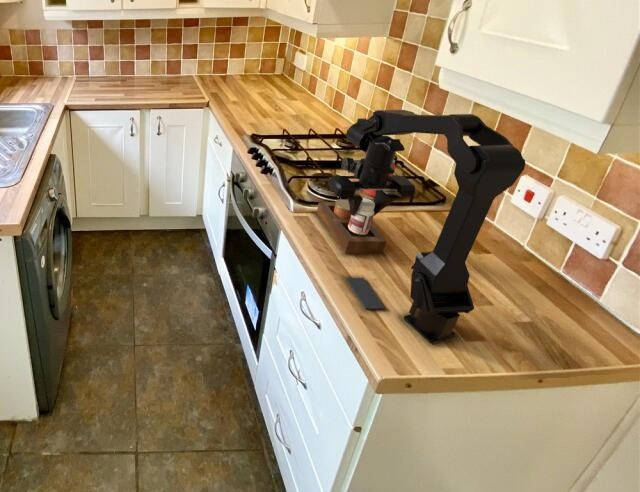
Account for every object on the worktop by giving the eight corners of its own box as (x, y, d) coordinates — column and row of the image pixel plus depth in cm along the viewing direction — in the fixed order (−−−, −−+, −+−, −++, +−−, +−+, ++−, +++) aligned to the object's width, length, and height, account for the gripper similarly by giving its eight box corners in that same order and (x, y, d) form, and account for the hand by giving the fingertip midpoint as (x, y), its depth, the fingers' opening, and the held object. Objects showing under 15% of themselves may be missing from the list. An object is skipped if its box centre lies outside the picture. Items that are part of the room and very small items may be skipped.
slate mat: (384, 309, 87) (384, 308, 87) (365, 309, 87) (365, 308, 87) (363, 278, 95) (363, 277, 95) (345, 278, 95) (346, 277, 95)
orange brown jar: (354, 227, 113) (360, 208, 110) (339, 230, 112) (344, 211, 109) (341, 217, 117) (346, 198, 114) (326, 220, 116) (331, 200, 113)
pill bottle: (361, 223, 108) (369, 196, 104) (372, 235, 104) (381, 207, 100) (344, 224, 108) (351, 197, 104) (353, 235, 103) (361, 207, 100)
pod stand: (348, 213, 119) (352, 201, 117) (382, 254, 103) (387, 241, 101) (315, 213, 119) (318, 202, 117) (344, 254, 103) (348, 241, 101)
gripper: (397, 145, 104) (381, 197, 111) (324, 145, 104) (312, 197, 111) (426, 166, 94) (406, 222, 101) (345, 166, 94) (331, 222, 101)
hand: (362, 215), depth 104 cm, fingers closed on pill bottle, 5 cm apart
